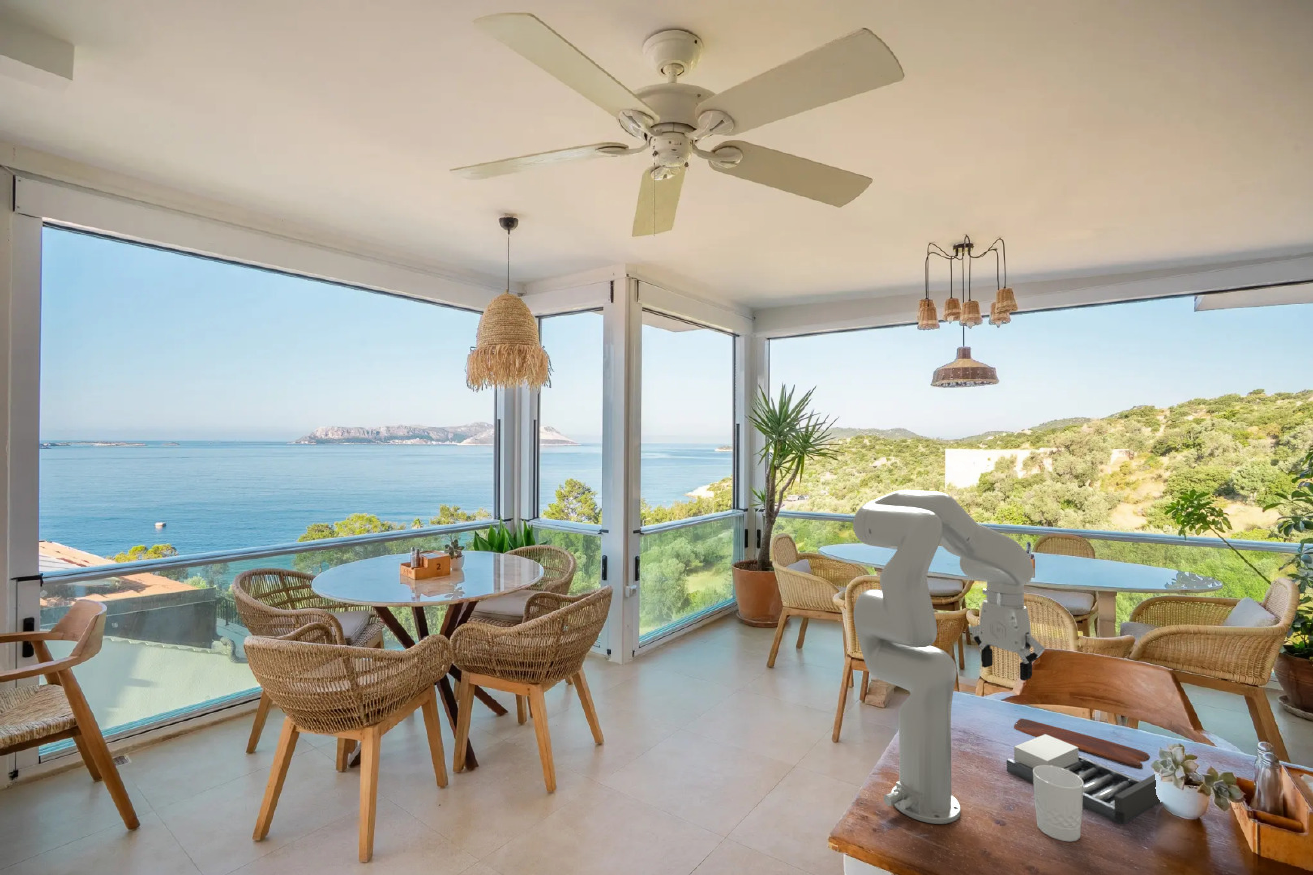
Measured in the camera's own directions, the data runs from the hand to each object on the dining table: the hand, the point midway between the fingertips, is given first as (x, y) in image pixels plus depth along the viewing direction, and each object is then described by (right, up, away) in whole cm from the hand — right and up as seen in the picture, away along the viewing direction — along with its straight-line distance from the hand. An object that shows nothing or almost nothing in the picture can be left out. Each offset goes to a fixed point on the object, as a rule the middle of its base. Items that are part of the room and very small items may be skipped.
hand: (1005, 672), depth 142 cm
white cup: (-7, -18, -29) cm, 35 cm away
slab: (+4, -16, -8) cm, 19 cm away
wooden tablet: (+20, -19, +5) cm, 28 cm away
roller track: (+8, -18, -14) cm, 24 cm away
